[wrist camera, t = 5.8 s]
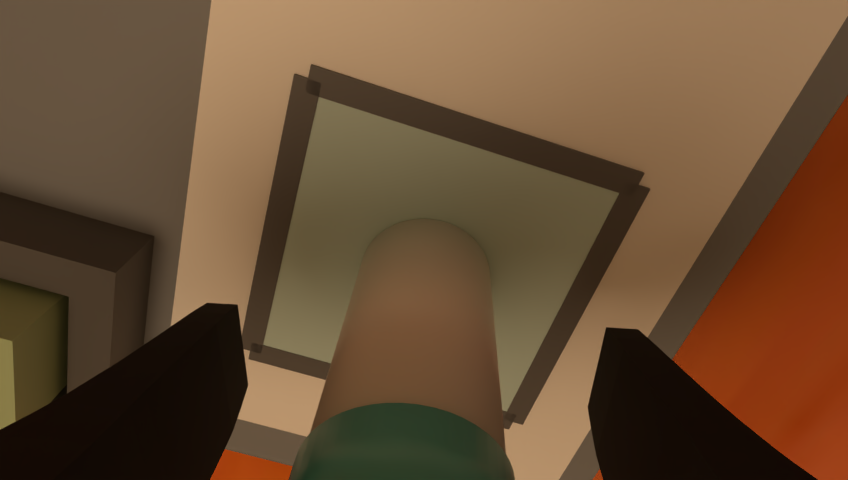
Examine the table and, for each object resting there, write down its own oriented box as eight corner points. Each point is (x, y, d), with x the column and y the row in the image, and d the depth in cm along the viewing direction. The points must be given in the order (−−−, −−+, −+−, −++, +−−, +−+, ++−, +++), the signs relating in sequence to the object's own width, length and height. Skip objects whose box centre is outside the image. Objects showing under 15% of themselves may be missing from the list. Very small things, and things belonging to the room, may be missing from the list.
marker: (499, 217, 13) (544, 547, 6) (489, 334, 15) (517, 703, 8) (353, 212, 13) (229, 529, 6) (359, 329, 15) (269, 685, 8)
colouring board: (923, -67, 11) (1047, -71, 9) (552, 511, 19) (566, 588, 17) (-156, -488, 9) (-364, -638, 7) (-59, 353, 17) (-139, 416, 15)
